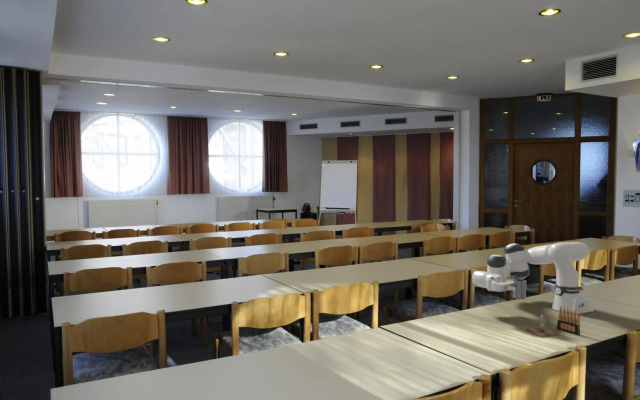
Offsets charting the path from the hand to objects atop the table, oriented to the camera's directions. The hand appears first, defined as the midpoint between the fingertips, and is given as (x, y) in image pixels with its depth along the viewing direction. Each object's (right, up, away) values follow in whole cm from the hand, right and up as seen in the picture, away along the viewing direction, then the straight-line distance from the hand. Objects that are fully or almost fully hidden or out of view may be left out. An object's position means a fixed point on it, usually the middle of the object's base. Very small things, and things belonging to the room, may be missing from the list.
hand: (521, 288), depth 254 cm
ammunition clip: (+19, -20, -9) cm, 29 cm away
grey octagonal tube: (-1, -5, +1) cm, 5 cm away
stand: (+5, -20, -12) cm, 23 cm away
